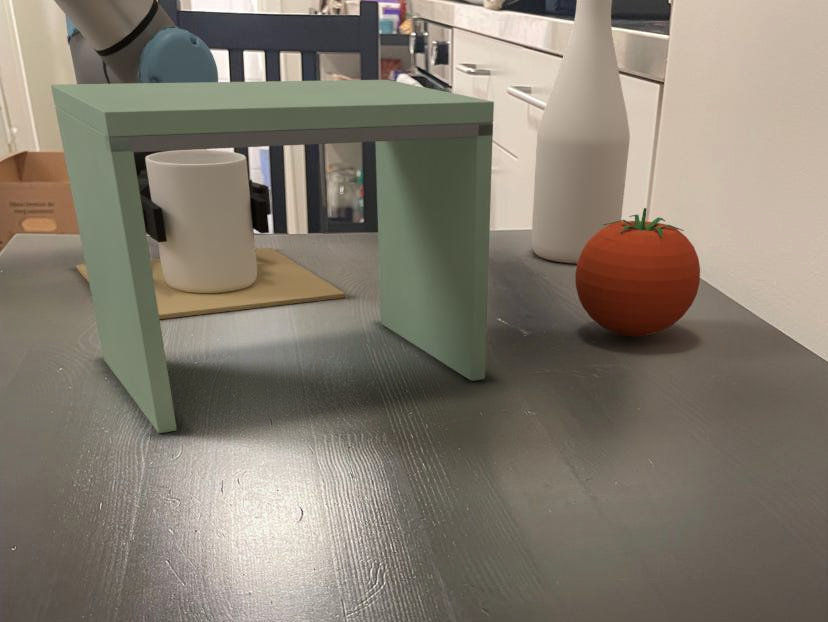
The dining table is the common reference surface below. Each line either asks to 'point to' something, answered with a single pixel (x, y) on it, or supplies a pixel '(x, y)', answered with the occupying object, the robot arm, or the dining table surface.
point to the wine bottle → (581, 141)
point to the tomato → (637, 276)
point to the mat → (271, 288)
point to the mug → (204, 219)
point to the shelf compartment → (279, 126)
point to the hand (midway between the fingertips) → (213, 221)
